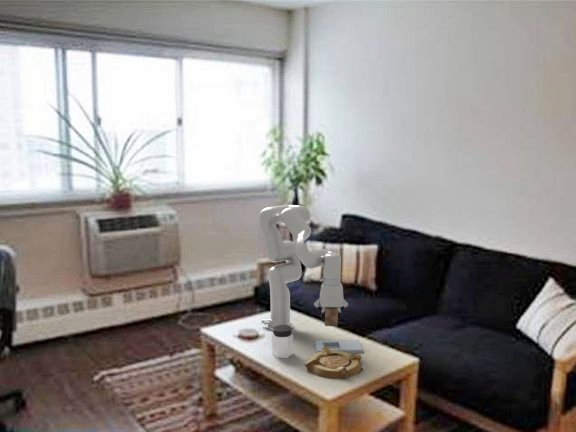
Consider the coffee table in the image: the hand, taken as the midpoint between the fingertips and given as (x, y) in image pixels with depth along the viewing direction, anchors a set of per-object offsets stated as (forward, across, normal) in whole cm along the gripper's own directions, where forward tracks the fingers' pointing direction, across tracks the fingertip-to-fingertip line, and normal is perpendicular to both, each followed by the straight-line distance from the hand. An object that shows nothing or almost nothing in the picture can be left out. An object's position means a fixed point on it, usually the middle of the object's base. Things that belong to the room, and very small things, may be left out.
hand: (330, 319), depth 249 cm
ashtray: (+13, -1, -20) cm, 24 cm away
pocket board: (+13, +4, -1) cm, 14 cm away
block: (+2, 0, 0) cm, 2 cm away
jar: (+14, -21, -6) cm, 26 cm away
